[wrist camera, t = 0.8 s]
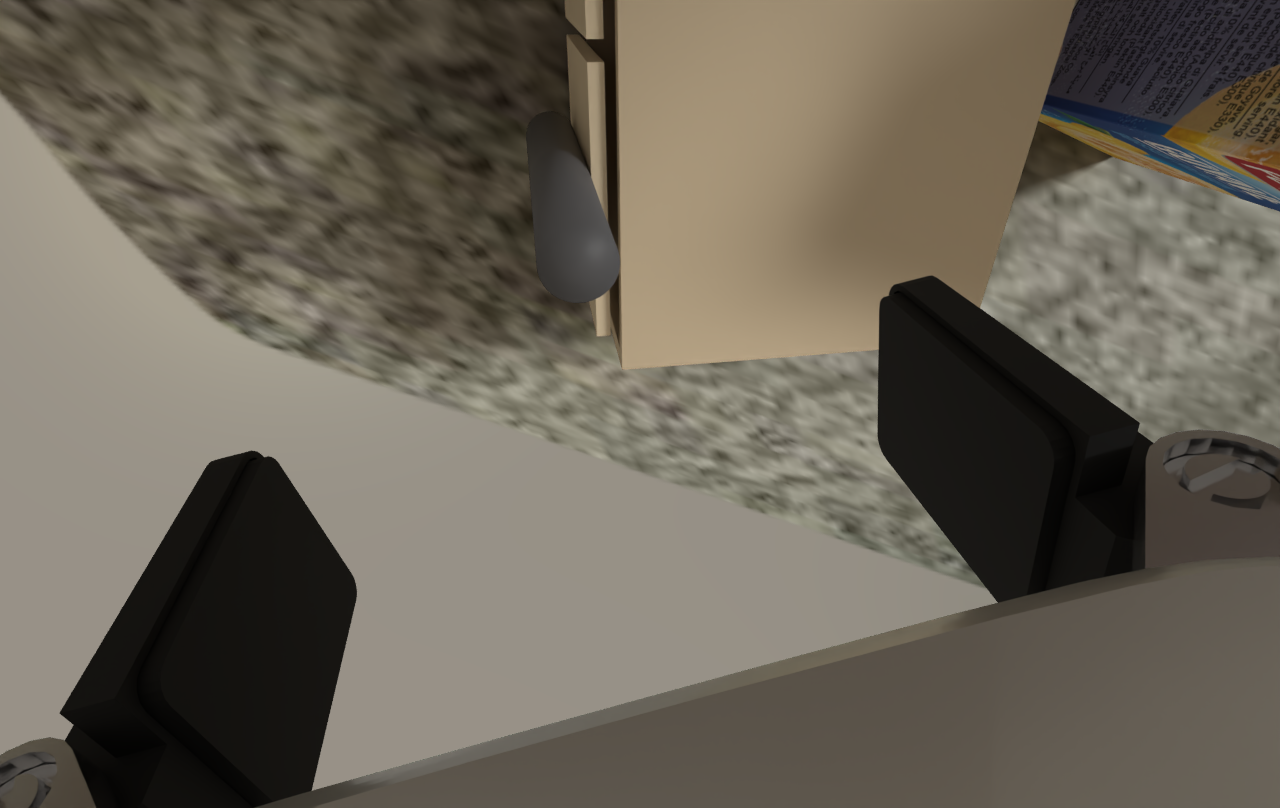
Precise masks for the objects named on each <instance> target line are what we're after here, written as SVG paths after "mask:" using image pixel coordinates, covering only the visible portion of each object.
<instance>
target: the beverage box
mask: <svg viewBox="0 0 1280 808" xmlns="http://www.w3.org/2000/svg"><path fill="white" fill-rule="evenodd" d="M1038 121H1040V122H1042V123H1044V124H1046V125H1048V126H1050V127H1052V128H1054V129H1056V130H1058V131H1060V132H1062V133H1064V134H1067V135H1069V136H1071V137H1073V138H1075V139H1077V140H1079V141H1081V142H1083V143H1085V144H1087V145H1089V146H1091V147H1093V148H1096V149H1098V150H1100V151H1102V152H1104V153H1106V154H1108V155H1110V156H1112V157H1115V158H1118V159H1121V160H1124V161H1127V162H1130V163H1133V164H1136V165H1139V166H1142V167H1145V168H1148V169H1151V170H1155V171H1158V172H1161V173H1164V174H1167V175H1170V176H1173V177H1176V178H1179V179H1182V180H1185V181H1188V182H1191V183H1194V184H1197V185H1201V186H1204V187H1207V188H1210V189H1213V190H1216V191H1219V192H1222V193H1225V194H1228V195H1231V196H1234V197H1237V198H1240V199H1243V200H1247V201H1250V202H1253V203H1256V204H1259V205H1262V206H1265V207H1268V208H1271V209H1274V210H1277V211H1280V0H1076V1H1075V5H1074V8H1073V11H1072V14H1071V17H1070V21H1069V24H1068V27H1067V30H1066V33H1065V37H1064V40H1063V43H1062V46H1061V49H1060V53H1059V56H1058V59H1057V62H1056V65H1055V69H1054V72H1053V75H1052V78H1051V81H1050V85H1049V88H1048V91H1047V94H1046V98H1045V101H1044V104H1043V107H1042V110H1041V114H1040V117H1039V120H1038Z"/></svg>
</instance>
